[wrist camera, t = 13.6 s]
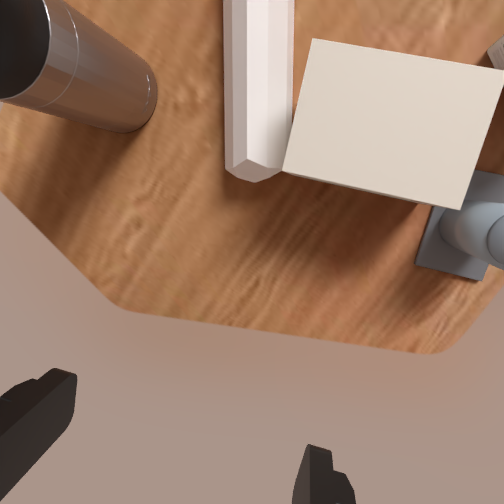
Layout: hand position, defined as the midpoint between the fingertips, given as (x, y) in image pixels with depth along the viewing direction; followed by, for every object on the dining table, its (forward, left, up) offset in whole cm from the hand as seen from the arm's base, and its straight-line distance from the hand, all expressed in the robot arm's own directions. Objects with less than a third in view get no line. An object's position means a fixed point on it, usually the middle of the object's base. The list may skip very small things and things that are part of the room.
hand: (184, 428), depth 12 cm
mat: (+18, +8, -32) cm, 37 cm away
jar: (+18, +8, -31) cm, 37 cm away
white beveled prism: (-7, +19, -32) cm, 38 cm away
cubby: (+6, +14, -32) cm, 35 cm away
